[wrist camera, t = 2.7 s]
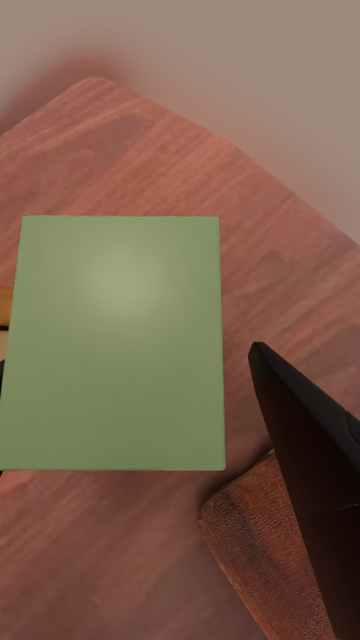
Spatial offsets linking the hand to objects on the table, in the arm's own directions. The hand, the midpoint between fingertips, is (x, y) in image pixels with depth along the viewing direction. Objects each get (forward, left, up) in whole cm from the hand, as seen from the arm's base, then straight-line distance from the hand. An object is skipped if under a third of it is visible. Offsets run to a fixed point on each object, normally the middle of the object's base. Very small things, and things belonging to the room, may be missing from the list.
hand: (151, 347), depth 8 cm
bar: (0, 0, -8) cm, 8 cm away
